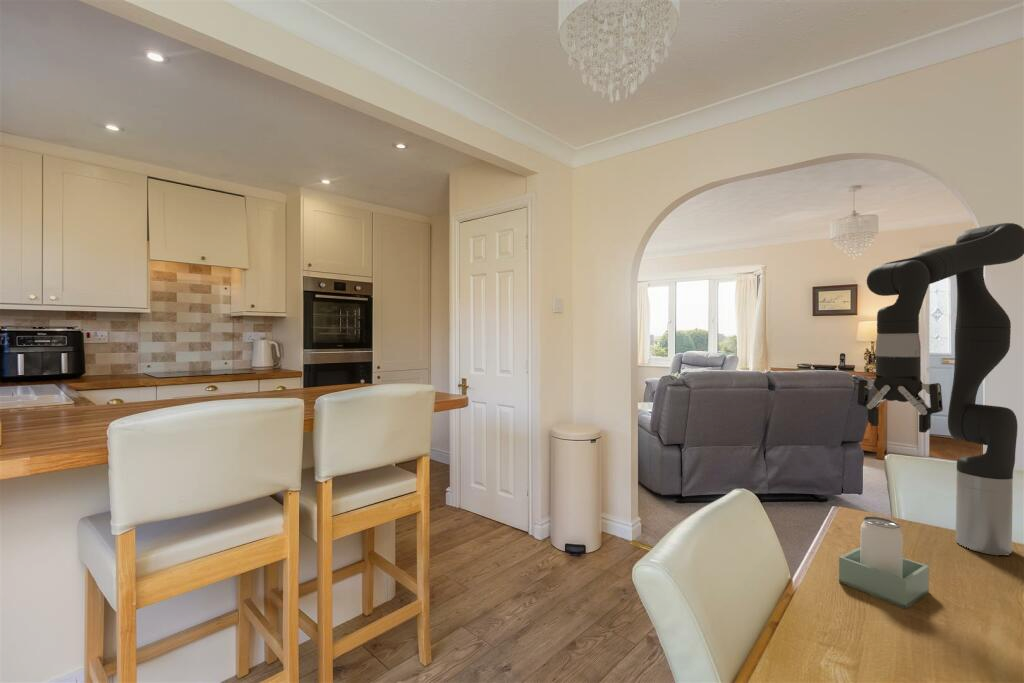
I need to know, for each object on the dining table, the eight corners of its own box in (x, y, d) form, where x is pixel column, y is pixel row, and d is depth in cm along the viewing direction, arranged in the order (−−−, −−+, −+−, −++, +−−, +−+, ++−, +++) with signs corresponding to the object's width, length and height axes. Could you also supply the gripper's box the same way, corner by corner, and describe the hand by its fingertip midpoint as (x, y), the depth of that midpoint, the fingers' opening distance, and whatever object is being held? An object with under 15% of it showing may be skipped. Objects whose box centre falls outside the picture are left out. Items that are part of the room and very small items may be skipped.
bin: (863, 568, 98) (863, 544, 98) (928, 592, 89) (928, 566, 89) (838, 582, 93) (839, 556, 93) (905, 608, 83) (906, 581, 83)
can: (910, 593, 87) (911, 529, 87) (871, 589, 89) (871, 526, 89) (889, 576, 94) (890, 517, 94) (853, 573, 95) (854, 514, 95)
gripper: (947, 354, 97) (947, 432, 97) (866, 353, 109) (867, 422, 110) (933, 356, 93) (934, 436, 93) (852, 354, 105) (852, 425, 106)
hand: (897, 428), depth 101 cm, fingers open, 8 cm apart
